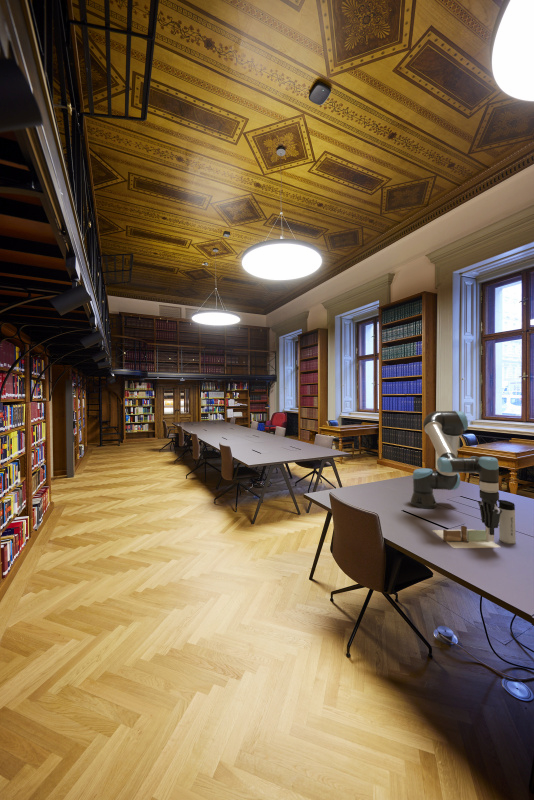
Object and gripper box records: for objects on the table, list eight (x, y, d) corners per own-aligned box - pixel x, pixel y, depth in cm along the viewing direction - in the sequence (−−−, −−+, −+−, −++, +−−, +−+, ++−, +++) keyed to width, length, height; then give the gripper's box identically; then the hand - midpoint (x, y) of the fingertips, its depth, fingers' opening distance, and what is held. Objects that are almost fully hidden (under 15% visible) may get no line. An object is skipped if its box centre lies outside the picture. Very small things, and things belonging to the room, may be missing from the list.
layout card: (432, 531, 168) (432, 530, 168) (473, 530, 168) (473, 529, 168) (454, 549, 148) (453, 548, 148) (501, 548, 148) (501, 547, 148)
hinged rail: (468, 540, 155) (468, 530, 155) (466, 539, 156) (466, 529, 156) (490, 540, 154) (490, 530, 154) (488, 539, 156) (488, 528, 156)
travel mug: (499, 538, 159) (498, 498, 159) (515, 541, 155) (515, 500, 154) (498, 542, 154) (497, 501, 154) (515, 546, 150) (514, 504, 150)
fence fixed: (442, 540, 157) (442, 526, 157) (465, 539, 157) (464, 525, 157) (444, 542, 154) (444, 528, 154) (468, 542, 154) (467, 527, 154)
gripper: (507, 494, 143) (508, 547, 143) (487, 486, 156) (488, 534, 156) (490, 494, 143) (491, 547, 143) (472, 486, 156) (473, 534, 156)
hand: (490, 540), depth 149 cm, fingers closed
